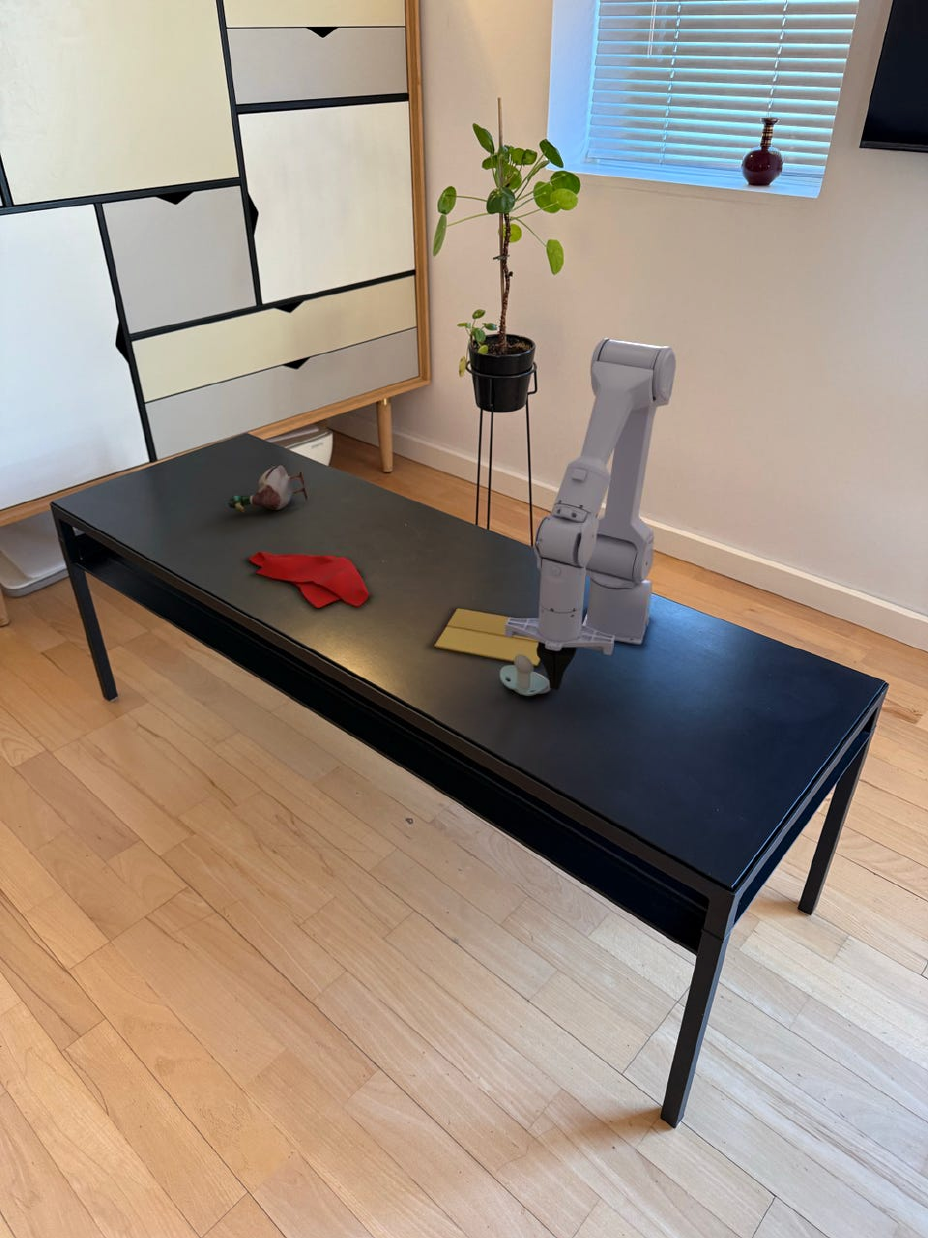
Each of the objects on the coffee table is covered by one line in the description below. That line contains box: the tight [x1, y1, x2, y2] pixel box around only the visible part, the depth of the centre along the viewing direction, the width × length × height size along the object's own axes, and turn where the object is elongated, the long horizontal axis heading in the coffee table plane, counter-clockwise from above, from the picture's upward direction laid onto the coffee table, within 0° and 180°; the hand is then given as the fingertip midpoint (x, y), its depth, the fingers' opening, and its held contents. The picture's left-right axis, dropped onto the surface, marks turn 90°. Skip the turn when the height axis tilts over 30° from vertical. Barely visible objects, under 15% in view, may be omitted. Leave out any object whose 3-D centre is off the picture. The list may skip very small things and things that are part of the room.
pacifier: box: [499, 654, 551, 697], centre depth 124 cm, size 7×6×6 cm
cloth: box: [249, 551, 370, 609], centre depth 152 cm, size 26×14×2 cm, turn 45°
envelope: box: [433, 608, 541, 667], centre depth 136 cm, size 16×11×1 cm
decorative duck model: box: [227, 464, 309, 513], centre depth 175 cm, size 15×8×15 cm
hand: (555, 685), depth 123 cm, fingers closed
